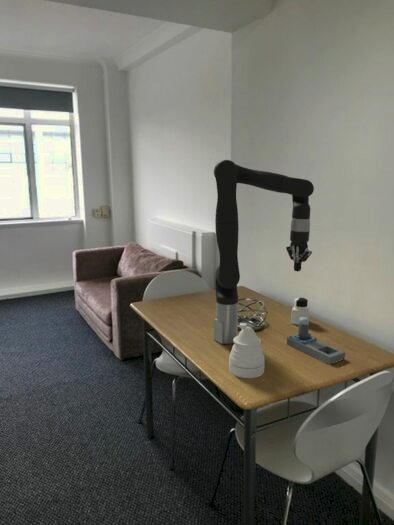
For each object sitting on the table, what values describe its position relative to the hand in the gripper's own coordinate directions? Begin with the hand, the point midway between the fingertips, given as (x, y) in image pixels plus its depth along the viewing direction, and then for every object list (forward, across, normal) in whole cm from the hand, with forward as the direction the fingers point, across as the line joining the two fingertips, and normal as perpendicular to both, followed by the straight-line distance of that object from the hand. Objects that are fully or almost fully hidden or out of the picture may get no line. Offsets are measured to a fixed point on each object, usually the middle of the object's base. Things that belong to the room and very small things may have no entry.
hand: (297, 270), depth 175 cm
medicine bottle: (+31, -14, +18) cm, 38 cm away
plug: (+31, +7, -1) cm, 31 cm away
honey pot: (+31, +11, -34) cm, 47 cm away
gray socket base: (+30, +13, -1) cm, 33 cm away
